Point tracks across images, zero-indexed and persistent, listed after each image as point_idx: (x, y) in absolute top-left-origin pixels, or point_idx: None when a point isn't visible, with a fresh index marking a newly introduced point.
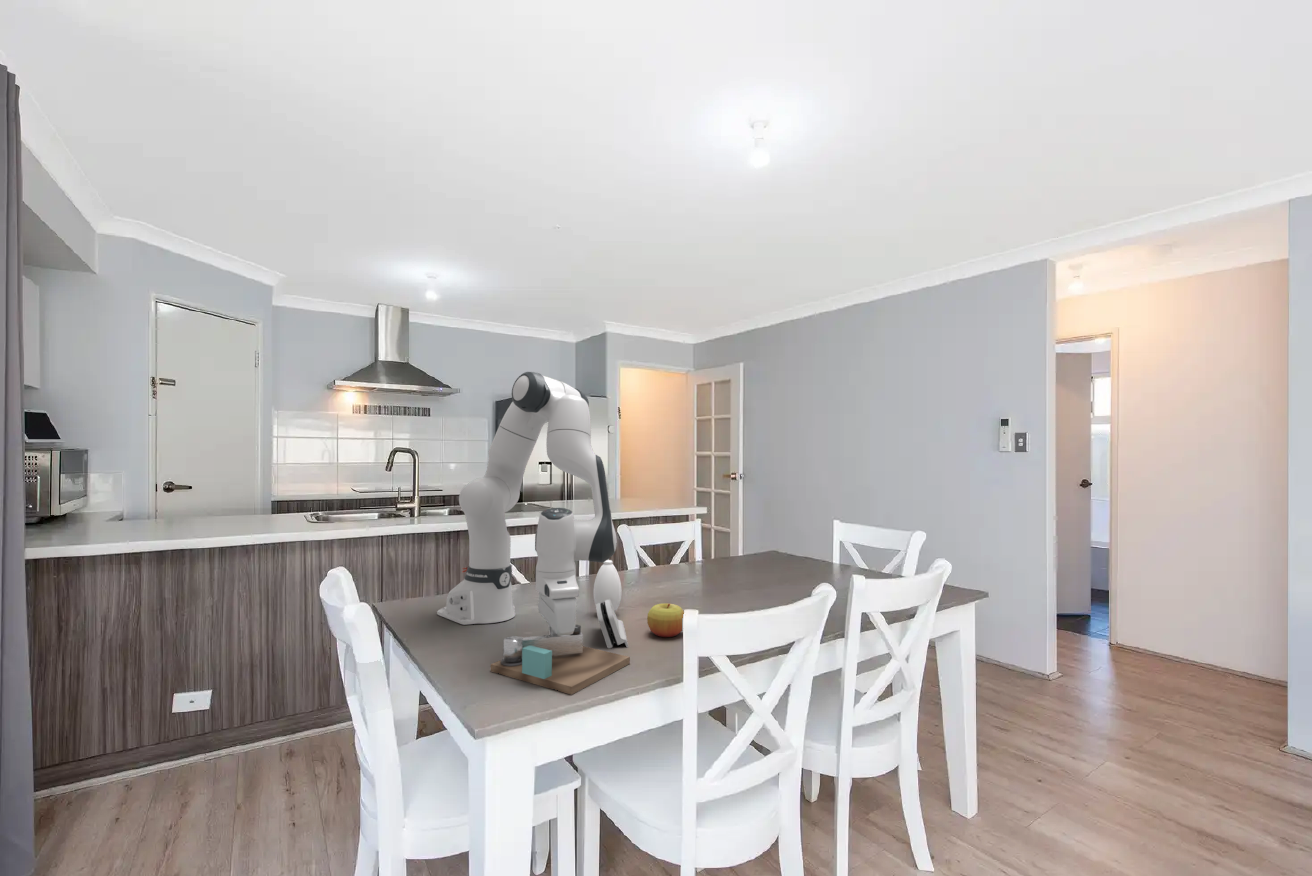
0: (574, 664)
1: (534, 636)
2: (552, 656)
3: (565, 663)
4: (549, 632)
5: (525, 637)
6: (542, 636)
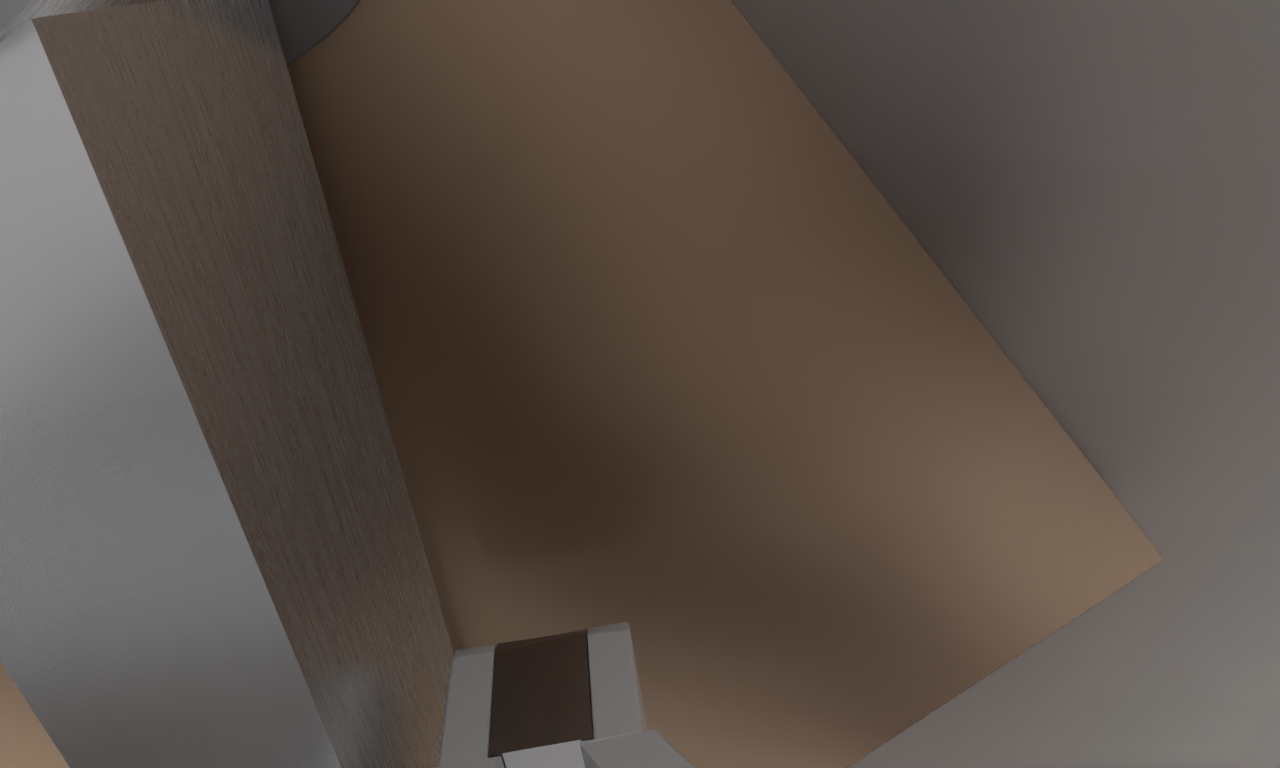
0: (41, 763)
1: (209, 496)
2: None
3: None
4: (672, 761)
5: (92, 212)
6: (212, 680)
